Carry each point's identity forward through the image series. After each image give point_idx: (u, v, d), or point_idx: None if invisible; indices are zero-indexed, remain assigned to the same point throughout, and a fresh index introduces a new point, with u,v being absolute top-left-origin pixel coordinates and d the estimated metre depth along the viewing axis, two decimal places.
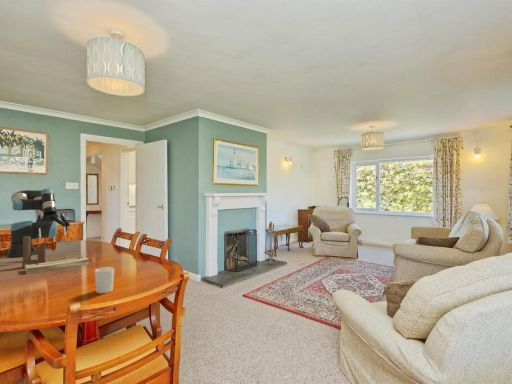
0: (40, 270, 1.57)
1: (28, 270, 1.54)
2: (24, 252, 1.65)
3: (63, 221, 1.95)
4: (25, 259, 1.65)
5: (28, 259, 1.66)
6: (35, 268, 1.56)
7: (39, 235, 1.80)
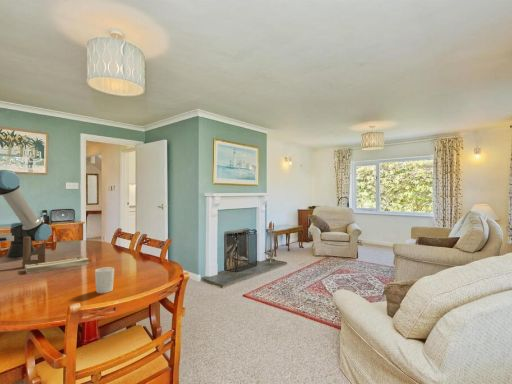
0: (40, 270, 1.57)
1: (28, 270, 1.54)
2: (24, 252, 1.65)
3: None
4: (25, 259, 1.65)
5: (28, 259, 1.66)
6: (35, 268, 1.56)
7: None
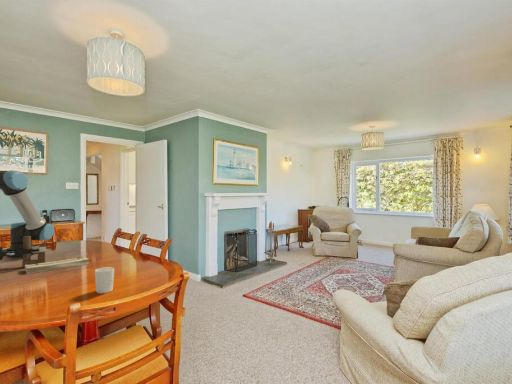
0: (40, 270, 1.57)
1: (28, 270, 1.54)
2: None
3: None
4: (25, 258, 1.66)
5: (28, 258, 1.67)
6: (35, 268, 1.56)
7: None
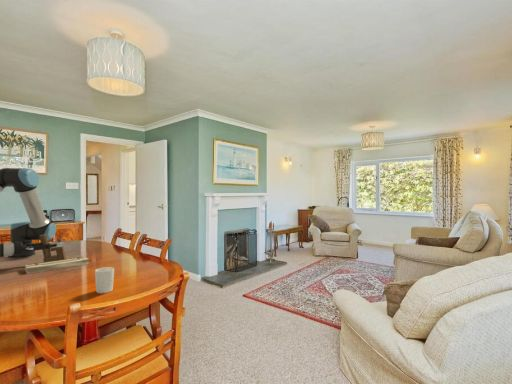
0: (40, 270, 1.57)
1: (28, 270, 1.54)
2: (43, 249, 1.73)
3: (39, 246, 1.66)
4: (45, 256, 1.73)
5: (48, 255, 1.74)
6: (35, 268, 1.56)
7: None
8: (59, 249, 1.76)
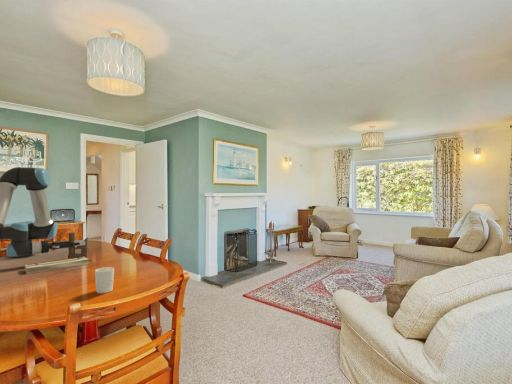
0: (40, 270, 1.57)
1: (28, 270, 1.54)
2: None
3: (64, 244, 1.76)
4: (70, 252, 1.83)
5: (73, 252, 1.84)
6: (35, 268, 1.56)
7: None
8: (84, 248, 1.86)
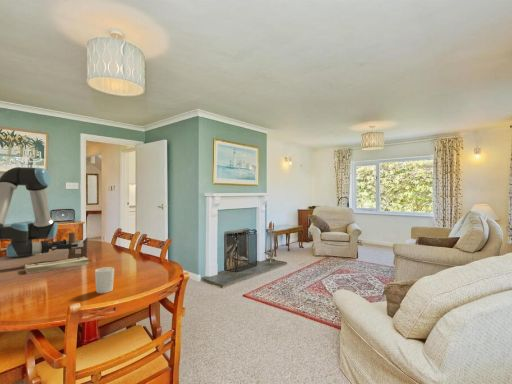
0: (40, 270, 1.57)
1: (28, 270, 1.54)
2: None
3: (62, 245, 1.73)
4: (70, 252, 1.84)
5: (73, 252, 1.84)
6: (35, 268, 1.56)
7: (74, 243, 1.90)
8: (84, 248, 1.87)
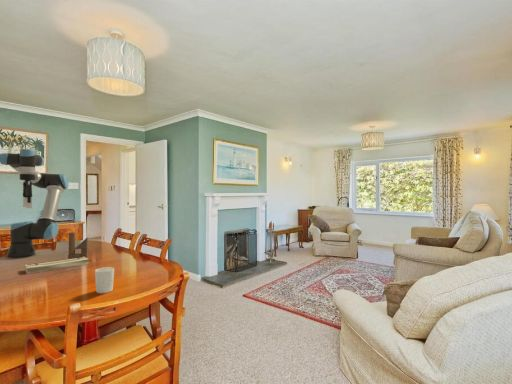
0: (40, 270, 1.57)
1: (28, 270, 1.54)
2: (69, 246, 1.84)
3: None
4: (70, 252, 1.84)
5: (73, 252, 1.84)
6: (35, 268, 1.56)
7: None
8: (84, 248, 1.87)
